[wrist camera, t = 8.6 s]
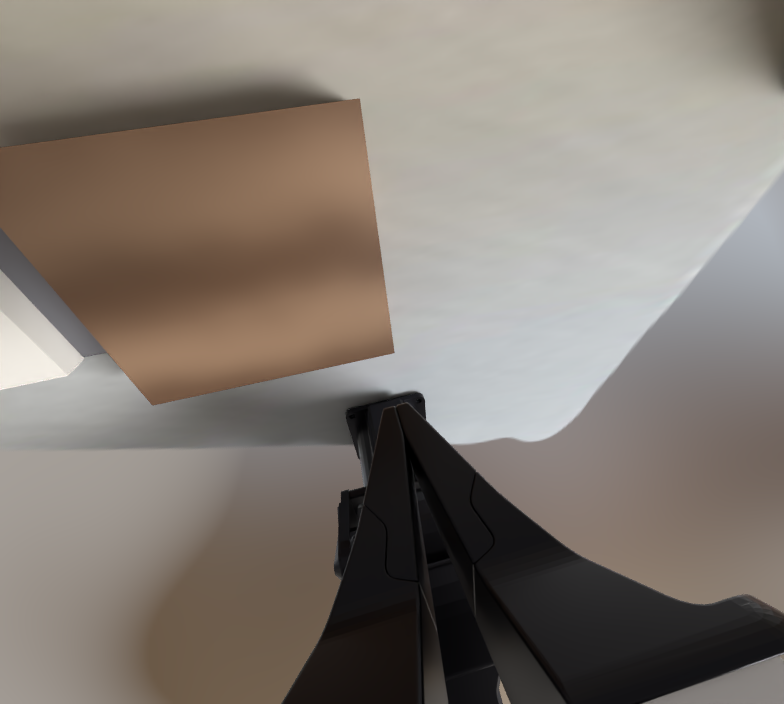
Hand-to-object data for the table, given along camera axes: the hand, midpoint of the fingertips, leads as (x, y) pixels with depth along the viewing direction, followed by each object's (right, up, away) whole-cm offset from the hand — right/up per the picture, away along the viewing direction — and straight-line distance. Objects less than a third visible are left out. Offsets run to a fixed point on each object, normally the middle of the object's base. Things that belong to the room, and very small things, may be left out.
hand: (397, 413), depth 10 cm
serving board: (-8, +7, +7) cm, 13 cm away
